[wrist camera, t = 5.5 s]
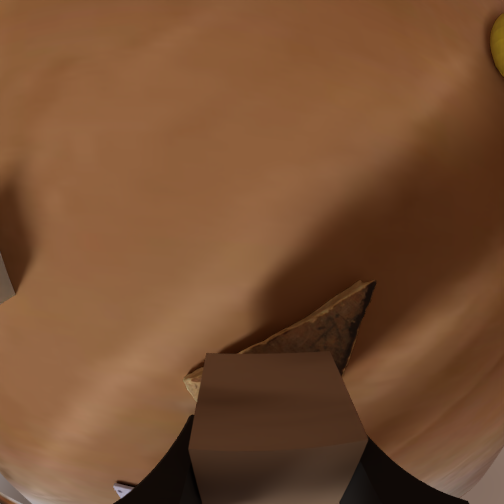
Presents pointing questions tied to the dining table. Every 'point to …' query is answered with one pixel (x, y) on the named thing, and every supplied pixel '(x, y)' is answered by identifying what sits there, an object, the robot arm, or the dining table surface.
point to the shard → (314, 332)
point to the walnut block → (274, 430)
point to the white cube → (5, 283)
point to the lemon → (498, 43)
